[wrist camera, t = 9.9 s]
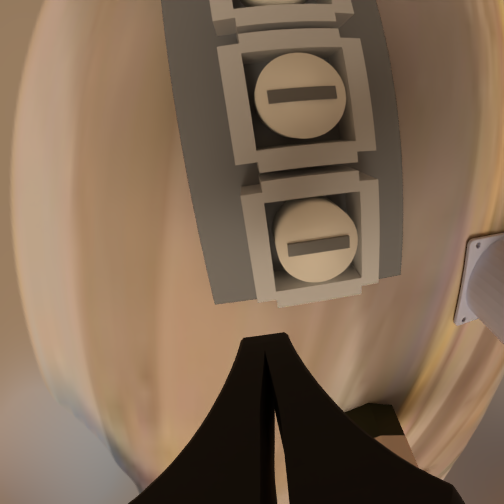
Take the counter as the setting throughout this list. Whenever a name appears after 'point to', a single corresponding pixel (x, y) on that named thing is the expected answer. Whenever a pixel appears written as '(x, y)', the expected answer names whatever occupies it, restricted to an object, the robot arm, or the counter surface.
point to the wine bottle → (383, 428)
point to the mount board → (284, 141)
